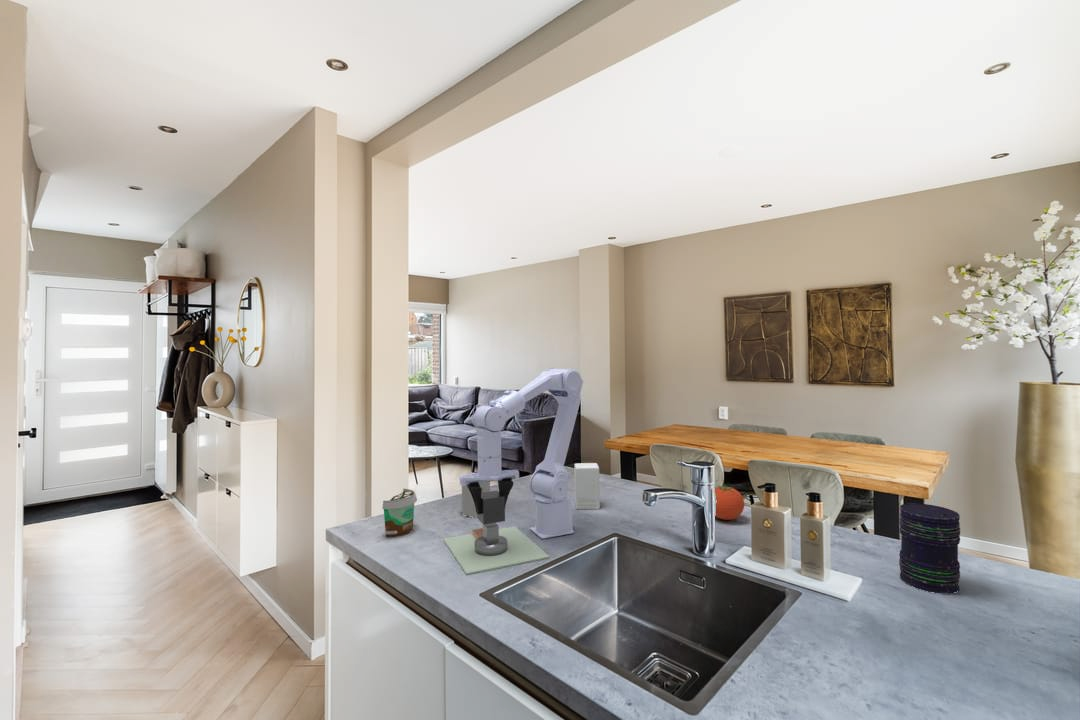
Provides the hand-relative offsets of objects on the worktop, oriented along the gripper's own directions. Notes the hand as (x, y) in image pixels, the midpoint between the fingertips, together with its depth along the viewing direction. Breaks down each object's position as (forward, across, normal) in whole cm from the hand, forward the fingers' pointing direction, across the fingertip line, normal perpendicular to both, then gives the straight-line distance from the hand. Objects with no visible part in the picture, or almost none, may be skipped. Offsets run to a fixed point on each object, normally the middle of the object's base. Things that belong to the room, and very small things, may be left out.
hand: (490, 511), depth 122 cm
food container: (+10, -17, +23) cm, 30 cm away
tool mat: (+10, +1, +1) cm, 10 cm away
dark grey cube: (+2, 0, 0) cm, 2 cm away
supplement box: (+10, +38, +20) cm, 44 cm away
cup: (+10, +5, +29) cm, 31 cm away
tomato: (+10, +67, -8) cm, 68 cm away
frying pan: (+9, 0, +4) cm, 10 cm away
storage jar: (+10, +76, -55) cm, 94 cm away
